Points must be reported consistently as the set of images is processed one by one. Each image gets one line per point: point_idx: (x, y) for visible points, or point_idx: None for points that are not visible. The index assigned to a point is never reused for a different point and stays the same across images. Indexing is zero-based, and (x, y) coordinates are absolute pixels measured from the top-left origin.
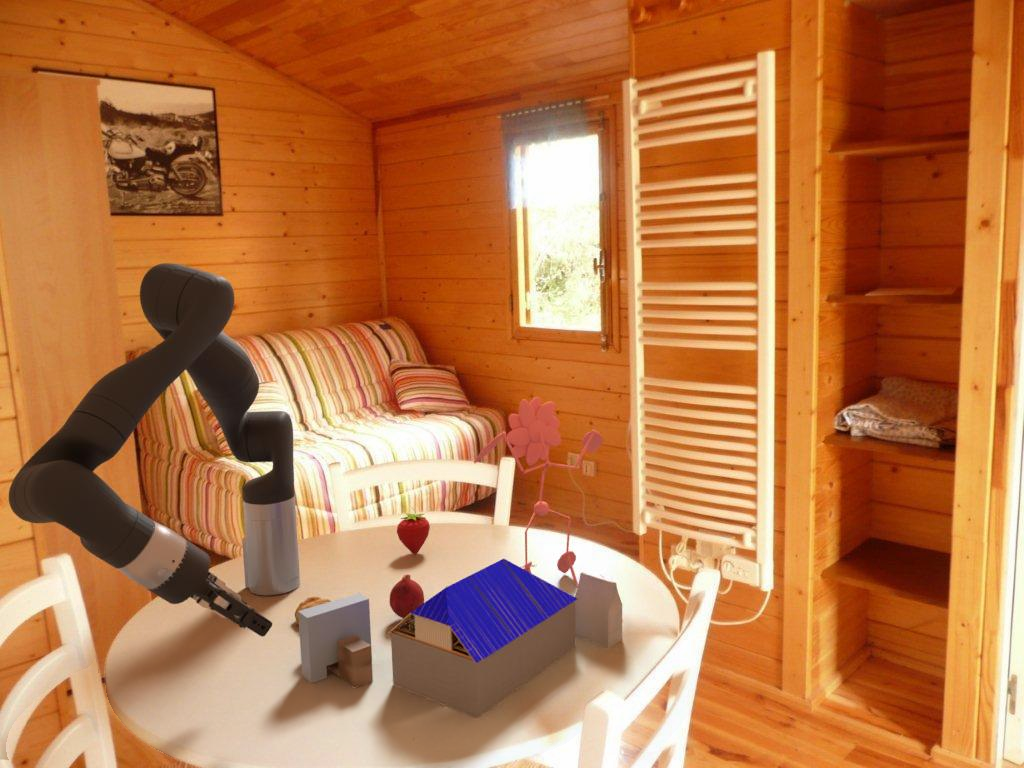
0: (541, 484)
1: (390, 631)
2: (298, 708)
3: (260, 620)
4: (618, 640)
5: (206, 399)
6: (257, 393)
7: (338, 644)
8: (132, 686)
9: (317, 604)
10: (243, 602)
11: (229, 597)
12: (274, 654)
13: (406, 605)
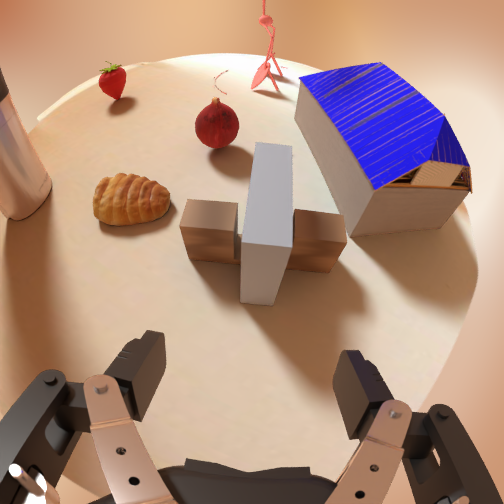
0: (264, 2)
1: (380, 188)
2: (325, 355)
3: (384, 387)
4: None
5: None
6: None
7: (298, 240)
8: (75, 467)
9: (120, 187)
10: (158, 342)
11: (493, 493)
12: (145, 292)
13: (233, 132)
